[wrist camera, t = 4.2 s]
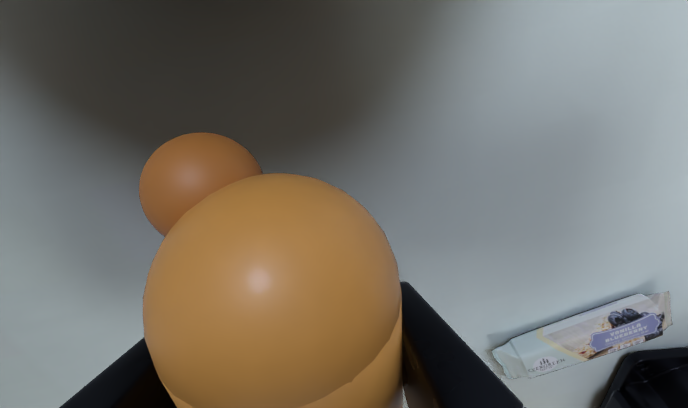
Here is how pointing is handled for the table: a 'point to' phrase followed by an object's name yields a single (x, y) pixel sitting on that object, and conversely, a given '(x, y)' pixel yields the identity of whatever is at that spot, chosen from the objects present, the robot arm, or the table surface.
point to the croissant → (266, 286)
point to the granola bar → (586, 336)
